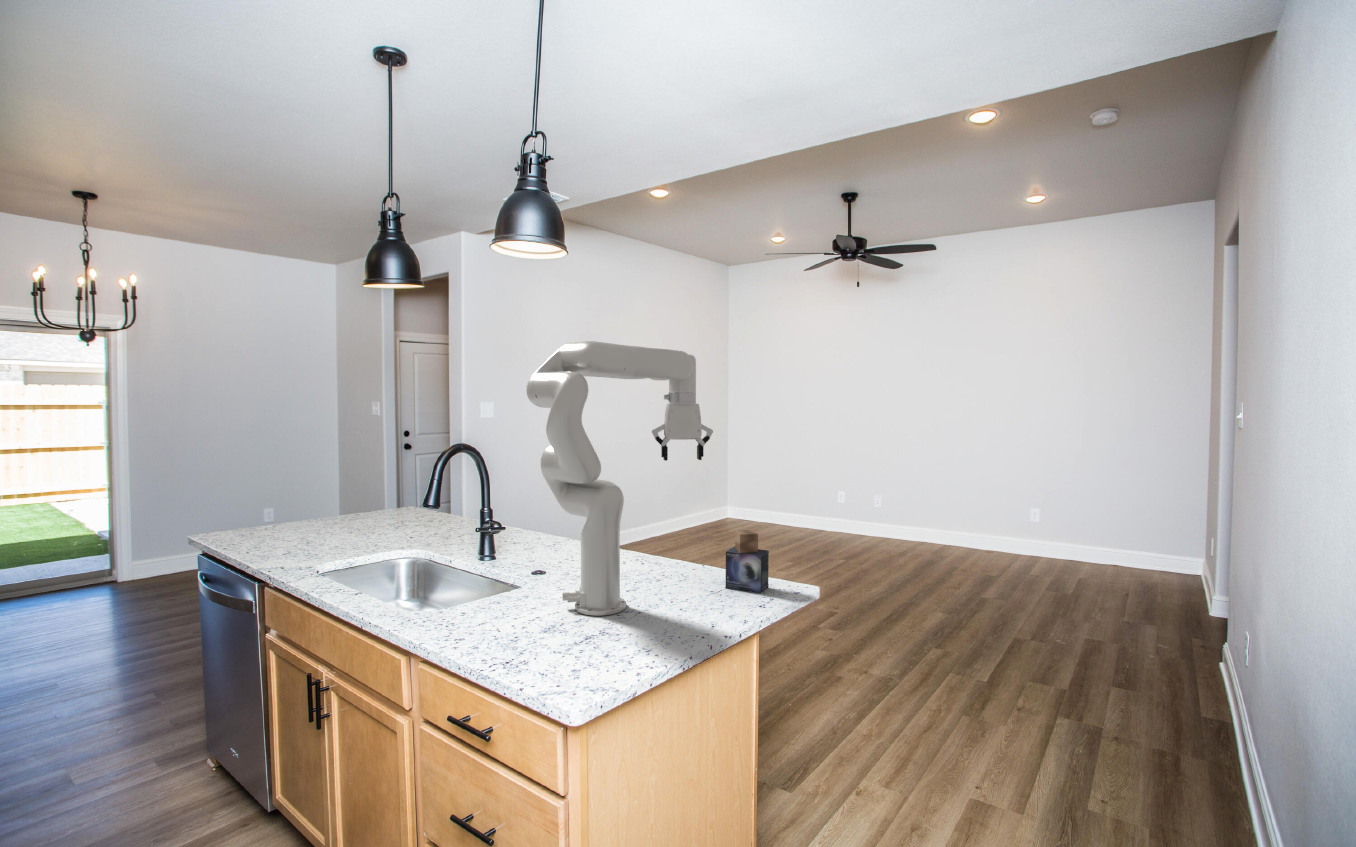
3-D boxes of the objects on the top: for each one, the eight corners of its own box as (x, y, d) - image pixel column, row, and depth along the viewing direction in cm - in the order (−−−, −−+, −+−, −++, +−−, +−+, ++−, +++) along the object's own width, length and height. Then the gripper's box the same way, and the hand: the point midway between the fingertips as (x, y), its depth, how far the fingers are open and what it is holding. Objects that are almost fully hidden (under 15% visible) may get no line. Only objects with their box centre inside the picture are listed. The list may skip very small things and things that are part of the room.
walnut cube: (739, 552, 175) (740, 534, 175) (735, 548, 180) (735, 530, 179) (758, 552, 176) (758, 533, 175) (752, 547, 180) (753, 529, 180)
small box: (724, 588, 178) (724, 550, 177) (733, 582, 183) (733, 545, 183) (760, 594, 173) (761, 555, 172) (769, 587, 178) (769, 549, 178)
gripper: (653, 399, 178) (653, 461, 179) (715, 398, 181) (715, 460, 181) (650, 398, 185) (650, 459, 186) (709, 398, 188) (709, 458, 189)
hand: (682, 459), depth 184 cm, fingers open, 9 cm apart
